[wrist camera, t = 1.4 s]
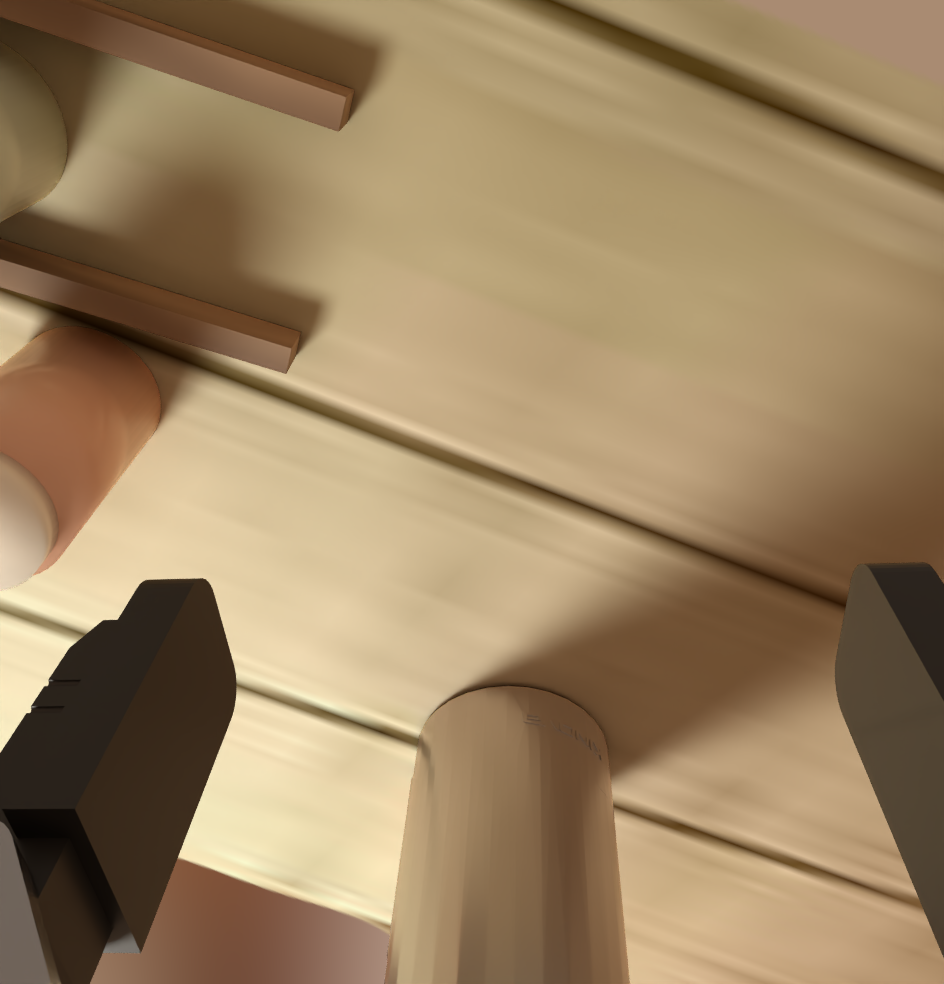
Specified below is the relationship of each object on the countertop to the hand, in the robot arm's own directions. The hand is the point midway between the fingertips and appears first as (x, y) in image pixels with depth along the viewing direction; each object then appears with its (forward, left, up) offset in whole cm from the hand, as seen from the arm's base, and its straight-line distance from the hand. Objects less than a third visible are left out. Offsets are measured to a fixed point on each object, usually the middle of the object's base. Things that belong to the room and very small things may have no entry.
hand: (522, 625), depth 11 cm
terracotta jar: (-15, +10, -21) cm, 27 cm away
